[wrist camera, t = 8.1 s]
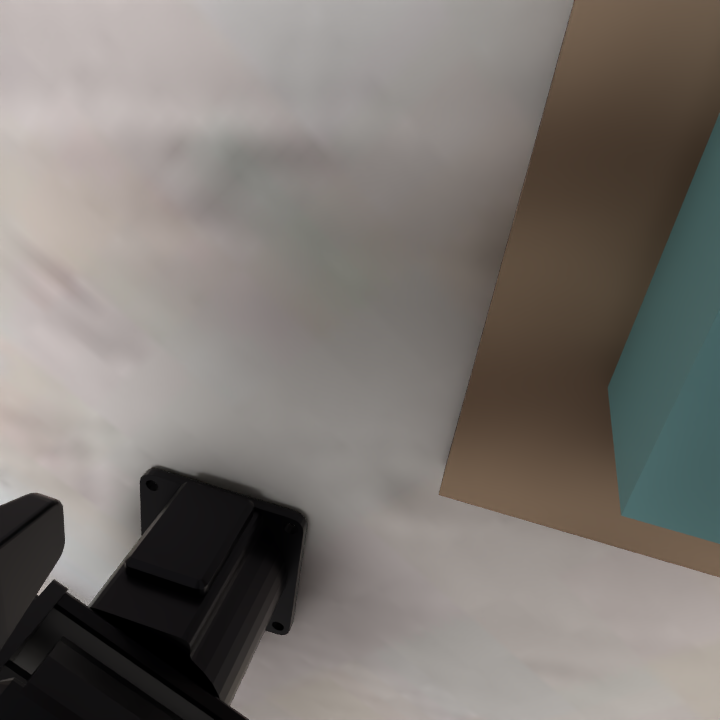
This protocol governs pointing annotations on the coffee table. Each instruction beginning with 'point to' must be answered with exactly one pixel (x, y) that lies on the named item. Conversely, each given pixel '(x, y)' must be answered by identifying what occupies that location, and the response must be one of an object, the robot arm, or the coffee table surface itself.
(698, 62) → the cleat board
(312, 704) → the coffee table surface
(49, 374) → the coffee table surface
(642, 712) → the coffee table surface
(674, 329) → the grooved box
